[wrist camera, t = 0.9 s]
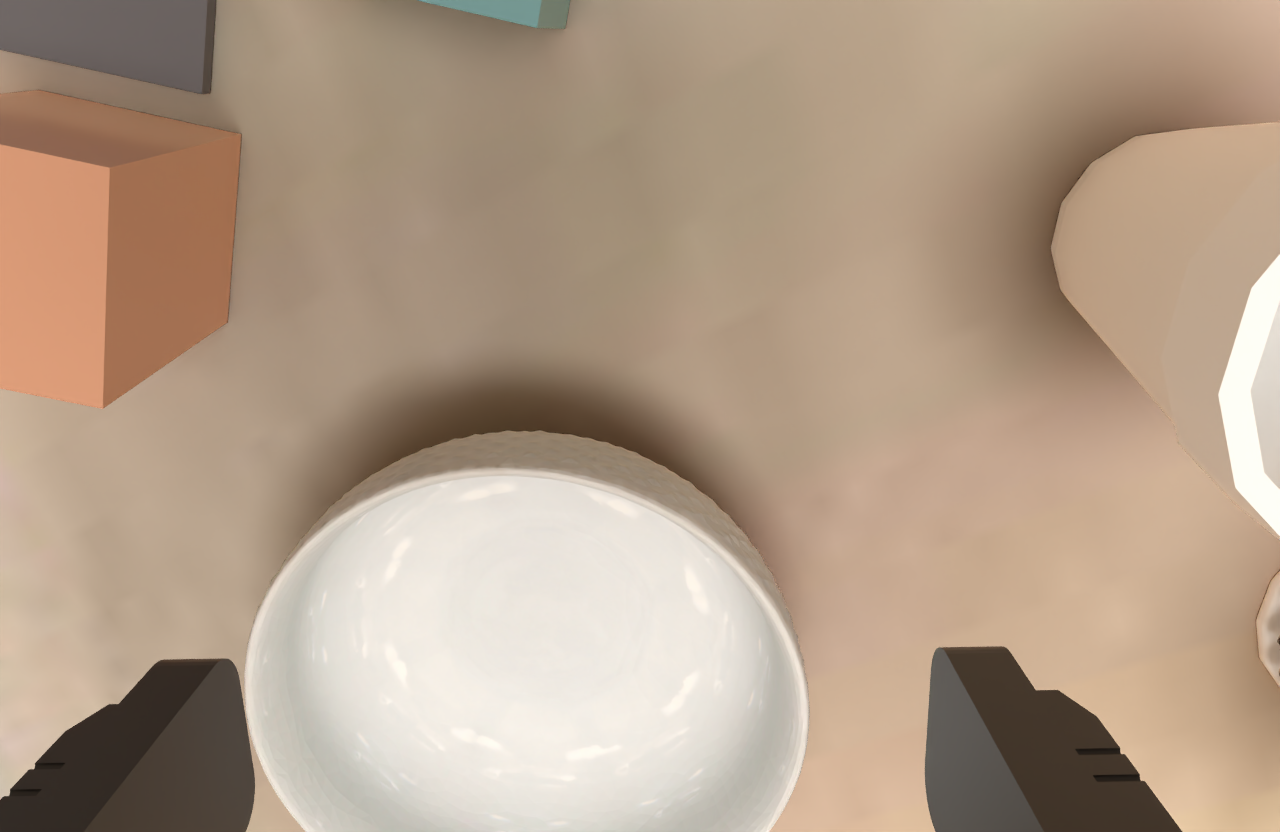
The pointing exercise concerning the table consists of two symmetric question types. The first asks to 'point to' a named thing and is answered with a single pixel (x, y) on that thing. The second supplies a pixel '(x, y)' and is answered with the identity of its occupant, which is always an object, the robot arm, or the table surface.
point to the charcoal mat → (117, 37)
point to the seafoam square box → (515, 10)
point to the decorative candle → (1270, 629)
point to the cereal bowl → (527, 652)
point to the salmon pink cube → (108, 243)
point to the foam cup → (1190, 290)
